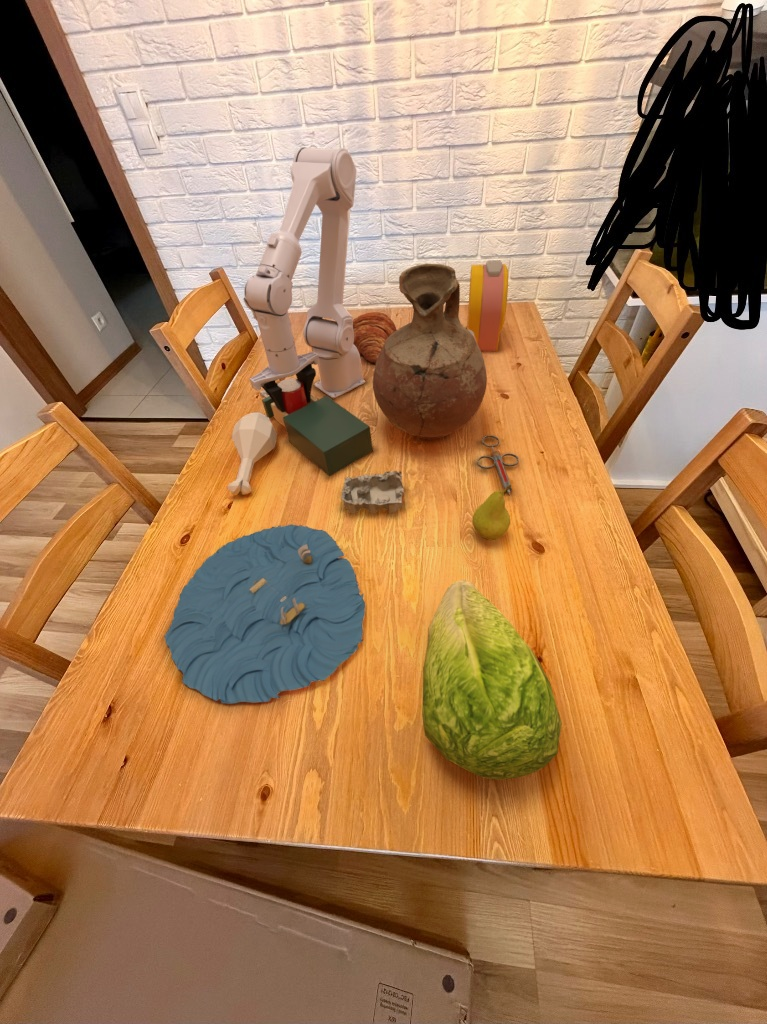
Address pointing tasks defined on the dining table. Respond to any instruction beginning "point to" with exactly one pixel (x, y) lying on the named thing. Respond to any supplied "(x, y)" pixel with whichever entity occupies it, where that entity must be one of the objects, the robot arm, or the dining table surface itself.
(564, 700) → the dining table surface
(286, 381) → the drink tin
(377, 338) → the pastry
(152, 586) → the dining table surface
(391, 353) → the jug
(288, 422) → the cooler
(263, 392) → the green drawer
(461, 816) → the dining table surface
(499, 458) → the syringe
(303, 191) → the robot arm
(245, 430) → the chicken leg
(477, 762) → the lettuce
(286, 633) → the blue ocean wave diorama
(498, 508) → the fruit
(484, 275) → the alarm clock
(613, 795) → the dining table surface
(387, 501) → the grey jagged hollow block
